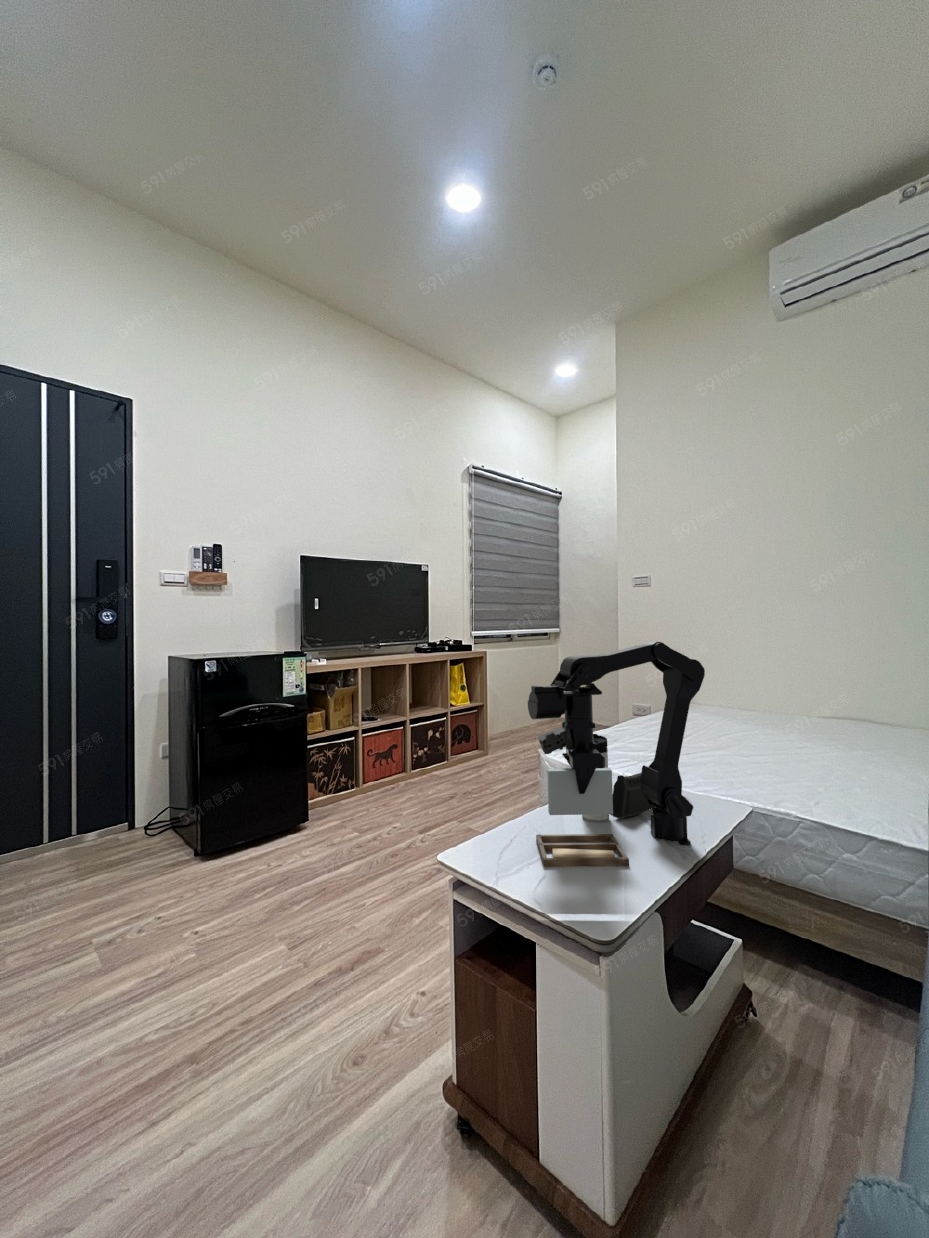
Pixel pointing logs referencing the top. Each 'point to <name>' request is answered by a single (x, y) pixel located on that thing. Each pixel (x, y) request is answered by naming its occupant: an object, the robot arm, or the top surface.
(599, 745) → the travel mug
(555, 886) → the top surface
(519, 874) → the top surface
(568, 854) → the offcut top
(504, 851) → the top surface
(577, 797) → the gray rectangular panel
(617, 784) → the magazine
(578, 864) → the brown wooden tray
